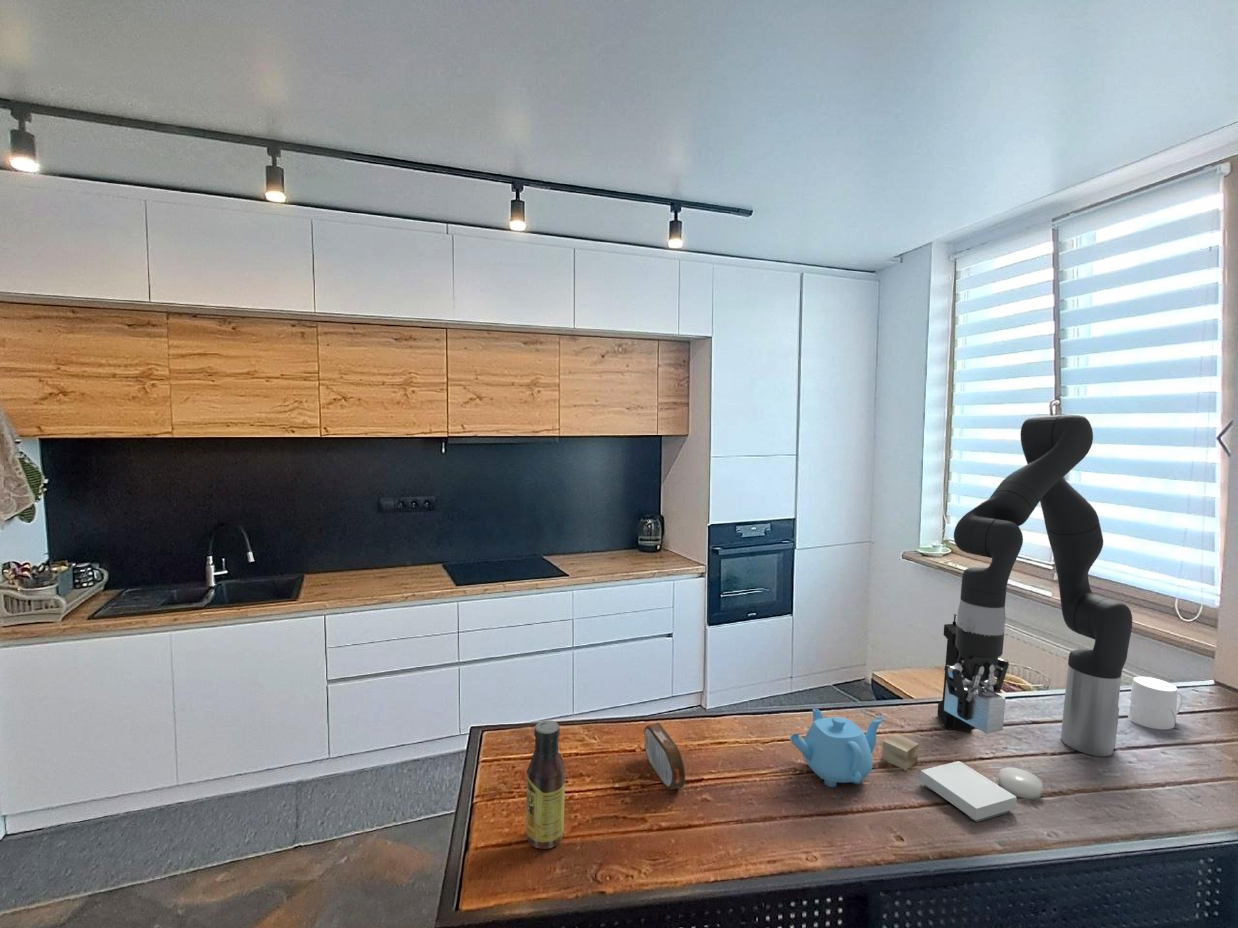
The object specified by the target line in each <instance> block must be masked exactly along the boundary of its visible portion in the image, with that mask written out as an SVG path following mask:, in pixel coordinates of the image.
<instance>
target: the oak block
mask: <svg viewBox="0 0 1238 928" xmlns="http://www.w3.org/2000/svg"><path fill="white" fill-rule="evenodd" d="M919 745H920V744H919V743H918V742H915V741H913V740H911V739H908V738H906V737H905V736H902V735H900V734H898V733H893V734H892V735H890V736H888V737H887V738H885V739H883V740H882V747H881V748H882V749H881V750H882V752H881V759H882V760H884V761H886V762H888V763H890V764H892V765H894V766H896V767H898V768H900V769H903V770H904V771H906V770H907V769H909V768H911V767H912V766H914V765H915V764H916V763H918V759H919V750H920V749H919Z"/></svg>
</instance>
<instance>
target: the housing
mask: <svg viewBox="0 0 1238 928" xmlns="http://www.w3.org/2000/svg"><path fill="white" fill-rule="evenodd" d="M965 680H966V681H968V682H970V683H972V681H970V680H967V679H966V678H965ZM955 689H956V688H955ZM964 692H965V693H966V692H967V687H966V686H965V687H964ZM1006 699H1007V698H1006V697H1004V696H1002V695H1001V694H998V693H997V692H993V691H992V690H990V689H987V688H983V687H981V686H979V685H978V688H977V689H976V690H974V693H973V696H972V700H971V701H972V707H971V719H970V720H965V719H963V718H961V717H959V716H958V714H957V707H958V706H957V704H958V697H956V696H954V695H951V694H950V693H949V690H948V685H947V680H946V689H945V702H944V711H946V712H948V713H950V714H952V715H953V716H955V717H957V718H959V719H961V720H962V721H964V722H966V723H968V724H970V725H972V726H973V727H974V729H977V730H979V731H981V732H983V733H984V734H985V735H987V734H992V733H996V732H1001V731H1003V730H1004V722H1005V709H1006Z"/></svg>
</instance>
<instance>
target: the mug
mask: <svg viewBox="0 0 1238 928" xmlns="http://www.w3.org/2000/svg"><path fill="white" fill-rule="evenodd" d="M1132 679H1133V680H1132V685H1131V690H1130V693H1129V694H1130V695H1129V701H1130V704H1129V709H1128V713H1127V718H1128V720H1129V721H1130V722H1133V723H1134V724H1136V725H1138V726H1142V727H1146V728H1149V729H1155V730H1170V729H1173V728H1175V724H1176V723H1177V718H1178V717H1177V716H1178V713H1180V712H1181V709H1182V706H1183V699H1184V698H1183V695H1182V693H1181V692H1180V691H1179V690H1178V688H1177V686H1176V685H1174V684H1172V683H1170V682H1168V681H1165V680H1162V679H1159V678H1155V677H1150V676H1134V677H1133V678H1132Z"/></svg>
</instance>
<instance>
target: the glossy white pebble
mask: <svg viewBox="0 0 1238 928" xmlns="http://www.w3.org/2000/svg"><path fill="white" fill-rule="evenodd" d="M998 784H999V786H1000V787H1002V788H1003V789H1005V790H1006V791H1008V792H1010V793H1011V794H1013V795H1014V796H1016V797H1017V798H1018V797H1019V798H1022V799H1026V800H1027V799H1028V800H1037V799H1040V798H1041V797H1042V795H1043V781H1042V780H1041V778H1039V777H1038V776H1036V775H1035V774H1033V773H1031V772H1029V771H1026V770H1024V769H1021V768H1017V767H1010V766H1009V767H1003V768H1001V769H999V772H998Z"/></svg>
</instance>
